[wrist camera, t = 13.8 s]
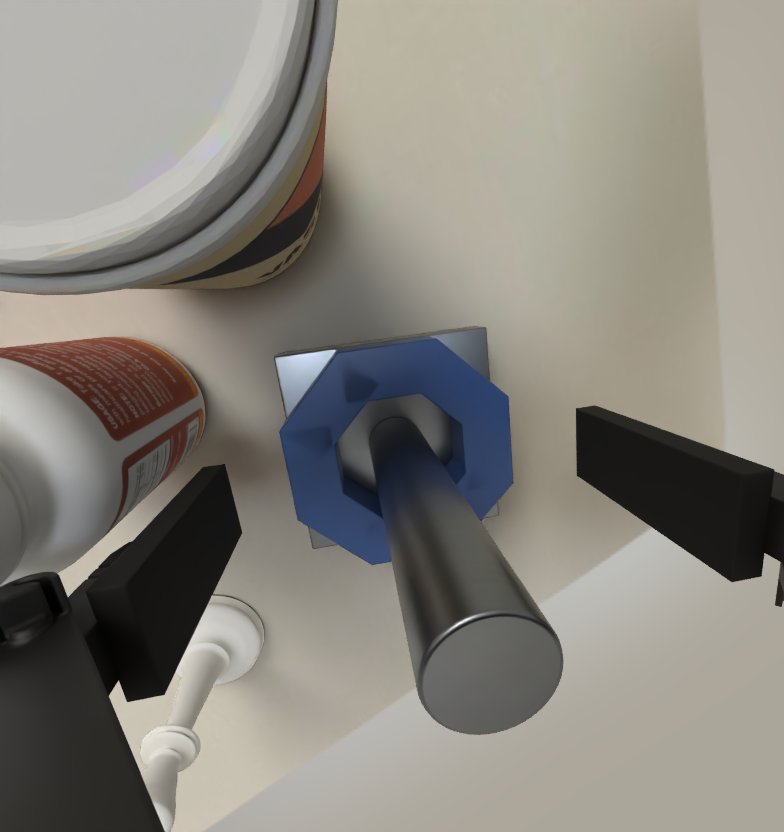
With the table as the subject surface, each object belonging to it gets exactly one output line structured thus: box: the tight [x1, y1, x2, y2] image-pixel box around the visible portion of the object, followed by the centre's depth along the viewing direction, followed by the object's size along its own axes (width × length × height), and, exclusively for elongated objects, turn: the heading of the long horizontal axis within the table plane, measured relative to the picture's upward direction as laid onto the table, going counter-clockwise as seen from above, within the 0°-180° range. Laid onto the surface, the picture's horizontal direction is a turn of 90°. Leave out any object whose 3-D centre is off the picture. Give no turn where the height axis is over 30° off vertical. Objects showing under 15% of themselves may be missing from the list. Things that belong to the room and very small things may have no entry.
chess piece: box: [140, 596, 264, 832], centre depth 16 cm, size 5×5×10 cm
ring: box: [279, 336, 513, 565], centre depth 17 cm, size 9×9×2 cm
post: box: [274, 326, 563, 735], centre depth 13 cm, size 9×9×14 cm
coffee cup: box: [0, 0, 338, 295], centre depth 10 cm, size 9×9×12 cm
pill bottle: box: [0, 337, 205, 587], centre depth 12 cm, size 6×6×11 cm
